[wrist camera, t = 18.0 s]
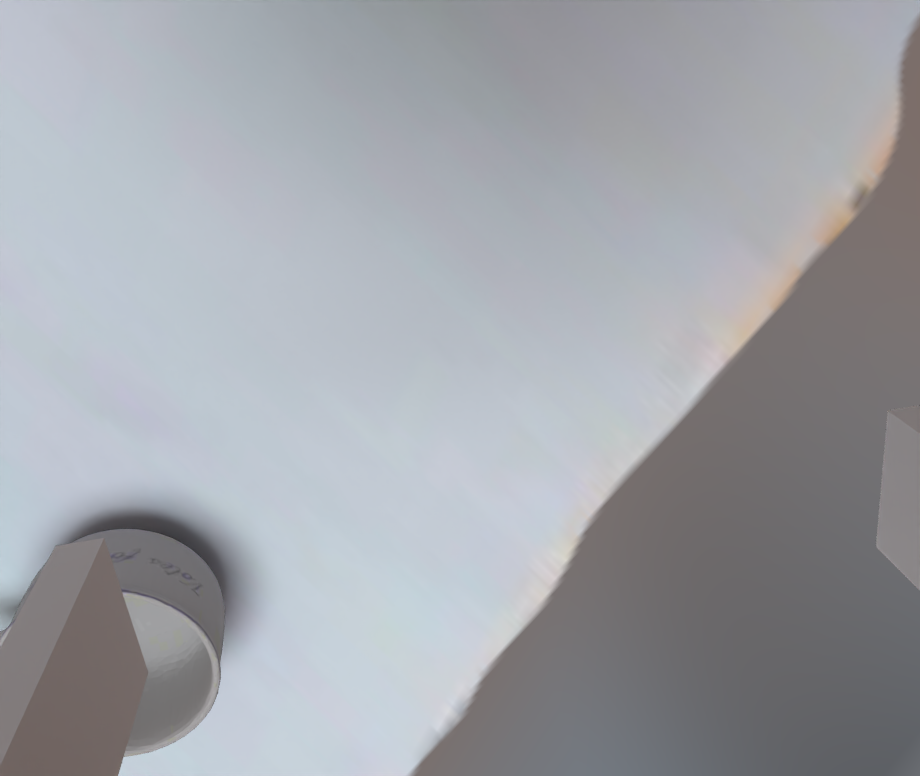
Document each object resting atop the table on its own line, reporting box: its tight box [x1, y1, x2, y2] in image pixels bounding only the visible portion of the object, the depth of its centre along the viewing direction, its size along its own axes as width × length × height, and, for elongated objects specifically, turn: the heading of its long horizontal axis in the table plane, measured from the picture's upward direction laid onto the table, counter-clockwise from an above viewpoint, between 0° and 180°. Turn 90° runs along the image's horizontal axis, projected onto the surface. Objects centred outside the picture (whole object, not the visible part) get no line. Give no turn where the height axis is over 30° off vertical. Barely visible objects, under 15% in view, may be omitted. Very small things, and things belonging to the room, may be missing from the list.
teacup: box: [0, 529, 225, 757], centre depth 47 cm, size 14×11×8 cm
